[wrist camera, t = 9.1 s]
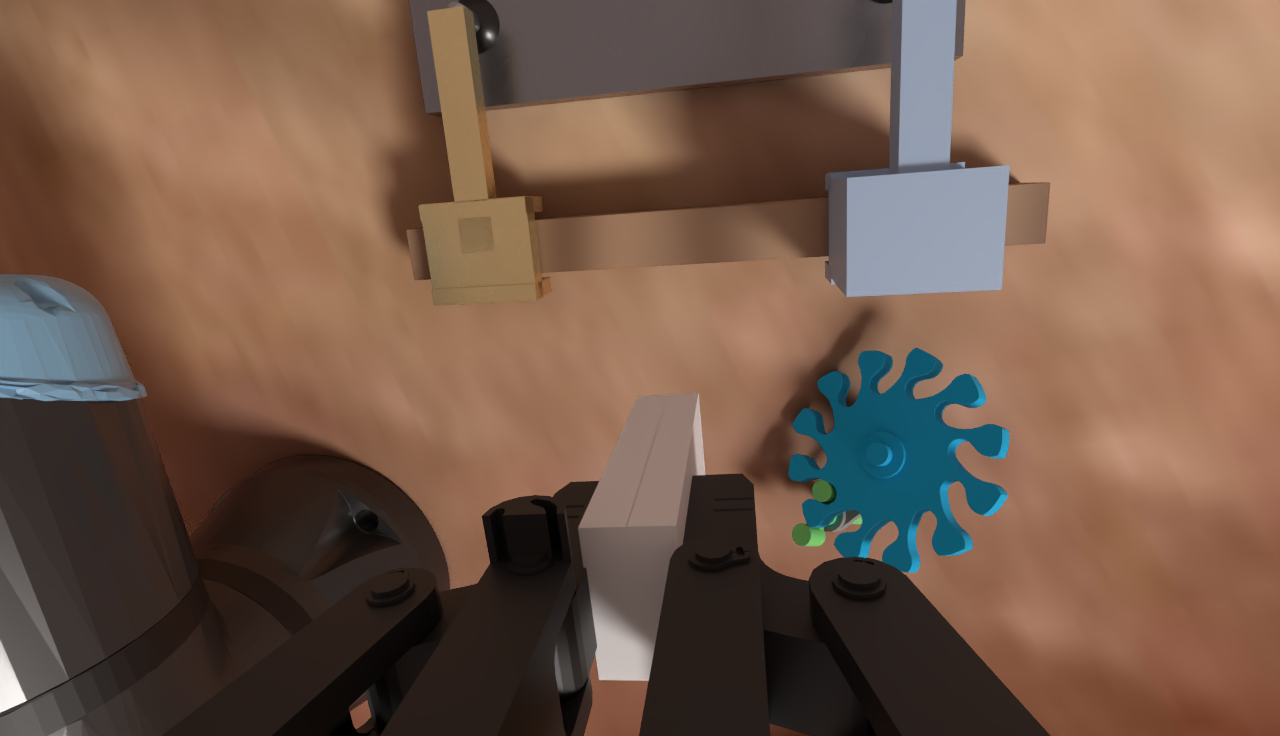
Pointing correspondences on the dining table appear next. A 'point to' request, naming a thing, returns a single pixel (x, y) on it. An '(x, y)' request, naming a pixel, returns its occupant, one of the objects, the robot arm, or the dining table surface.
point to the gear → (893, 461)
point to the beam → (717, 233)
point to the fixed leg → (475, 187)
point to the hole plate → (659, 45)
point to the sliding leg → (918, 182)
